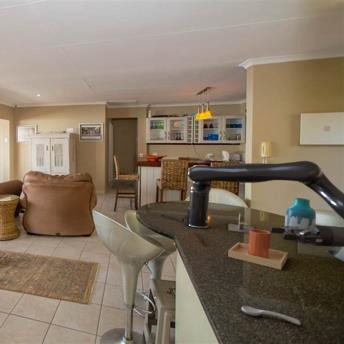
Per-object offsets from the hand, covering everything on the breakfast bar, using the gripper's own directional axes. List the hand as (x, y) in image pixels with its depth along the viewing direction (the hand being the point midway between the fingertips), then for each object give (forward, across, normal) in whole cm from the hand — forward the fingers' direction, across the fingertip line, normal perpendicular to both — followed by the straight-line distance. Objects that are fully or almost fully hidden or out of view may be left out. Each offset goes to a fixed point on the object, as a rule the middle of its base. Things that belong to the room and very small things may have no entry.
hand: (277, 233), depth 110 cm
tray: (+6, 0, +10) cm, 12 cm away
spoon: (+23, +44, +10) cm, 51 cm away
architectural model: (-6, -44, +10) cm, 46 cm away
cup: (+6, 0, +10) cm, 11 cm away
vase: (-25, -30, +10) cm, 40 cm away
